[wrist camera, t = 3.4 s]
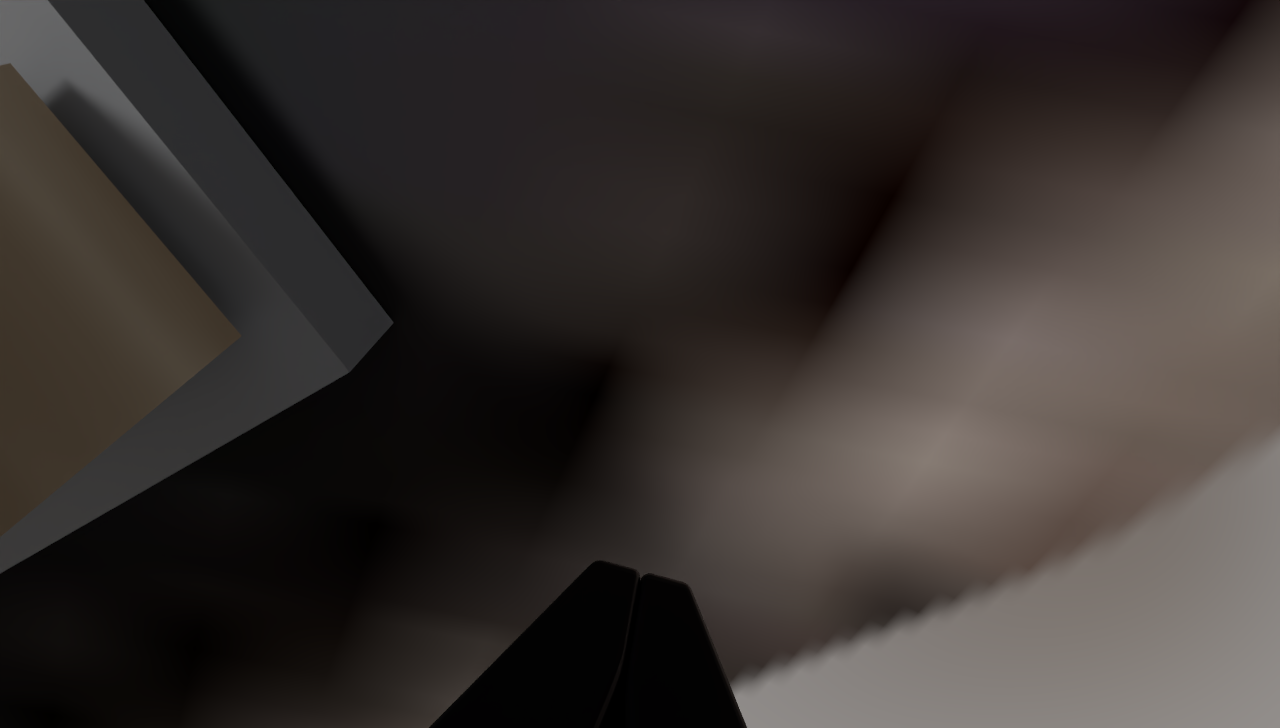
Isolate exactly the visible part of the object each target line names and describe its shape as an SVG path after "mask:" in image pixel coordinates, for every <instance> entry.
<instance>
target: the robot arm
mask: <svg viewBox="0 0 1280 728" xmlns="http://www.w3.org/2000/svg"><path fill="white" fill-rule="evenodd" d="M429 728H747V727H746V724H745V722H744V719H743V717H742V714H741V712H740V709H739V707H738V704H737V702H736V699H735V697H734V694H733V692H732V689H731V687H730V684H729V682H728V679H727V677H726V674H725V672H724V669H723V667H722V664H721V662H720V660H719V657H718V655H717V652H716V650H715V647H714V645H713V642H712V640H711V637H710V635H709V632H708V630H707V627H706V625H705V622H704V620H703V617H702V615H701V612H700V610H699V607H698V605H697V602H696V600H695V597H694V595H693V593H692V590H691V588H690V587H689V586H688V585H687V584H686V583H684V582H681V581H677V580H674V579H670V578H666V577H662V576H658V575H655V574H650V573H648V574H645V575H644V576H643V577H642V578H641V580H640V575H639V573H638V571H637V570H635V569H632V568H628V567H625V566H621V565H617V564H613V563H610V562H606V561H601V560H599V561H595V562H593V563H592V564H591V565H590V566H589V567H588V568H587V569H586V570H585V571H584V572H583V573H582V574H581V575H580V576H579V577H578V578H577V579H576V580H575V581H574V582H573V583H572V584H571V585H570V586H569V587H568V588H567V589H566V590H565V591H564V592H563V593H562V594H561V595H560V596H559V597H558V598H557V599H556V600H555V601H554V602H553V603H552V604H551V605H550V606H549V607H548V608H547V609H546V610H545V611H544V612H543V613H542V614H541V615H540V616H539V617H538V618H537V619H536V620H535V621H534V622H533V623H532V624H531V625H530V626H529V627H528V628H527V629H526V630H525V631H524V632H523V633H522V634H521V635H520V636H519V637H518V638H517V639H516V640H515V641H514V642H513V643H512V644H511V645H510V646H509V647H508V648H507V649H506V650H505V651H504V652H503V653H502V654H501V655H500V656H499V657H498V658H497V659H496V661H495V662H494V663H493V664H492V665H491V666H490V667H489V668H488V669H487V670H486V671H485V672H484V673H483V674H482V675H481V676H480V677H479V678H478V679H477V680H476V681H475V682H474V683H473V684H472V685H471V686H470V687H469V688H468V689H467V690H466V691H465V692H464V693H463V694H462V695H461V696H460V697H459V698H458V699H457V700H456V701H455V702H454V703H453V704H452V705H451V706H450V707H449V708H448V709H447V710H446V711H445V712H444V713H443V714H442V715H441V716H440V717H439V718H438V719H437V720H436V721H435V722H434V723H433V724H432V725H431V726H430V727H429Z"/></svg>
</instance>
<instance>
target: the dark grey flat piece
mask: <svg viewBox="0 0 1280 728" xmlns="http://www.w3.org/2000/svg"><path fill="white" fill-rule="evenodd" d="M9 63H11V64H12V66H13V67H14V68H15V69H16V70H17V72H18V73H19V74H20V75H21V76H22V77H23V79H24V80H25V81H26V82H27V83H28V85H29V86H30V87H31V88H32V89H33V90H34V92H35V93H36V94H37V95H38V96H39V98H40V99H41V100H42V101H43V102H44V103H45V105H46V106H47V107H48V108H49V109H50V110H51V112H52V113H53V114H54V115H55V116H56V118H57V119H58V120H59V121H60V122H61V123H62V125H63V126H64V127H65V128H66V129H67V131H68V132H69V133H70V134H71V135H72V136H73V138H74V139H75V140H76V141H77V142H78V144H79V145H80V146H81V147H82V148H83V149H84V151H85V152H86V153H87V154H88V155H89V156H90V158H91V159H92V160H93V161H94V162H95V164H96V165H97V166H98V167H99V168H100V169H101V171H102V172H103V173H104V174H105V175H106V177H107V178H108V179H109V180H110V181H111V182H112V184H113V185H114V186H115V187H116V188H117V189H118V191H119V192H120V193H121V194H122V195H123V197H124V198H125V199H126V200H127V201H128V202H129V204H130V205H131V206H132V207H133V208H134V210H135V211H136V212H137V213H138V214H139V215H140V217H141V218H142V219H143V220H144V221H145V223H146V224H147V225H148V226H149V227H150V228H151V230H152V231H153V232H154V233H155V234H156V235H157V237H158V238H159V239H160V240H161V241H162V243H163V244H164V245H165V246H166V247H167V248H168V250H169V251H170V252H171V253H172V254H173V256H174V257H175V258H176V259H177V260H178V261H179V263H180V264H181V265H182V266H183V267H184V269H185V270H186V271H187V272H188V273H189V274H190V276H191V277H192V278H193V279H194V280H195V281H196V283H197V284H198V285H199V286H200V287H201V289H202V290H203V291H204V292H205V293H206V294H207V296H208V297H209V298H210V299H211V300H212V302H213V303H214V304H215V305H216V306H217V307H218V309H219V310H220V311H221V312H222V313H223V315H224V316H225V317H226V318H227V319H228V320H229V322H230V323H231V324H232V325H233V326H234V327H235V329H236V330H237V331H238V332H239V333H240V335H241V337H240V338H239V339H238V340H236V341H235V342H234V343H233V344H232V345H230V346H229V347H228V348H227V349H226V350H224V351H223V352H222V353H221V354H219V355H218V356H217V357H216V358H215V359H213V360H212V361H211V362H210V363H209V364H207V365H206V366H205V367H204V368H203V369H201V370H200V371H199V372H198V373H197V374H195V375H194V376H193V377H192V378H191V379H189V380H188V381H187V382H186V383H185V384H183V385H182V386H181V387H180V388H179V389H177V390H176V391H175V392H174V393H173V394H171V395H170V396H169V397H168V398H167V399H165V400H164V401H163V402H162V403H161V404H159V405H158V406H157V407H156V408H155V409H153V410H152V411H151V412H150V413H149V414H147V415H146V416H145V417H144V418H143V419H141V420H140V421H139V422H138V423H137V424H135V425H134V426H133V427H132V428H131V429H129V430H128V431H127V432H126V433H125V434H123V435H122V436H121V437H120V438H119V439H117V440H116V441H115V442H114V443H113V444H111V445H110V446H109V447H108V448H107V449H105V450H104V451H103V452H102V453H101V454H99V455H98V456H97V457H96V458H95V459H93V460H92V461H91V462H90V463H89V464H87V465H86V466H85V467H84V468H83V469H81V470H80V471H79V472H78V473H77V474H75V475H74V476H73V477H72V478H70V479H69V480H68V481H67V482H66V483H64V484H63V485H62V486H61V487H60V488H58V489H57V490H56V491H55V492H54V493H52V494H51V495H50V496H49V497H48V498H46V499H45V500H44V501H43V502H42V503H40V504H39V505H38V506H37V507H36V508H34V509H33V510H32V511H31V512H30V513H28V514H27V515H26V516H25V517H24V518H22V519H21V520H20V521H19V522H18V523H16V524H15V525H14V526H13V527H12V528H10V529H9V530H8V531H7V532H6V533H4V534H3V535H2V536H1V537H0V573H2V572H4V571H5V570H7V569H9V568H10V567H12V566H14V565H16V564H17V563H19V562H21V561H23V560H24V559H26V558H28V557H30V556H31V555H33V554H35V553H37V552H38V551H40V550H42V549H43V548H45V547H47V546H49V545H50V544H52V543H54V542H56V541H57V540H59V539H61V538H63V537H64V536H66V535H68V534H70V533H71V532H73V531H75V530H76V529H78V528H80V527H82V526H83V525H85V524H87V523H89V522H90V521H92V520H94V519H96V518H97V517H99V516H101V515H103V514H104V513H106V512H108V511H109V510H111V509H113V508H115V507H116V506H118V505H120V504H122V503H123V502H125V501H127V500H129V499H130V498H132V497H134V496H136V495H137V494H139V493H141V492H142V491H144V490H146V489H148V488H149V487H151V486H153V485H155V484H156V483H158V482H160V481H162V480H163V479H165V478H167V477H169V476H170V475H172V474H174V473H175V472H177V471H179V470H181V469H182V468H184V467H186V466H188V465H189V464H191V463H193V462H195V461H196V460H198V459H200V458H202V457H203V456H205V455H207V454H208V453H210V452H212V451H214V450H215V449H217V448H219V447H221V446H222V445H224V444H226V443H228V442H229V441H231V440H233V439H235V438H236V437H238V436H240V435H241V434H243V433H245V432H247V431H248V430H250V429H252V428H254V427H255V426H257V425H259V424H261V423H262V422H264V421H266V420H267V419H269V418H271V417H273V416H274V415H276V414H278V413H280V412H281V411H283V410H285V409H287V408H288V407H290V406H292V405H294V404H295V403H297V402H299V401H300V400H302V399H304V398H306V397H307V396H309V395H311V394H313V393H314V392H316V391H318V390H320V389H321V388H323V387H325V386H327V385H328V384H330V383H332V382H333V381H335V380H337V379H339V378H340V377H342V376H344V375H346V374H347V373H349V372H350V371H351V370H352V369H353V368H354V367H355V366H356V365H357V363H358V362H359V361H360V360H361V359H362V358H363V357H364V356H365V354H366V353H367V352H368V351H369V350H370V349H371V348H372V347H373V345H374V344H375V343H376V342H377V341H378V340H379V339H380V338H381V337H382V335H383V334H384V333H385V332H386V331H387V330H388V329H389V328H390V326H391V325H392V324H393V321H392V320H391V319H390V317H389V316H388V315H387V313H386V312H385V311H384V310H383V308H382V307H381V306H380V304H379V303H378V302H377V301H376V299H375V298H374V297H373V295H372V294H371V293H370V292H369V290H368V289H367V288H366V286H365V285H364V284H363V283H362V281H361V280H360V279H359V277H358V276H357V275H356V273H355V272H354V271H353V270H352V268H351V267H350V266H349V264H348V263H347V262H346V261H345V259H344V258H343V257H342V255H341V254H340V253H339V252H338V250H337V249H336V248H335V246H334V245H333V244H332V243H331V241H330V240H329V239H328V237H327V236H326V235H325V233H324V232H323V231H322V230H321V228H320V227H319V226H318V224H317V223H316V222H315V221H314V219H313V218H312V217H311V215H310V214H309V213H308V212H307V210H306V209H305V208H304V206H303V205H302V204H301V203H300V201H299V200H298V199H297V197H296V196H295V195H294V193H293V192H292V191H291V190H290V188H289V187H288V186H287V184H286V183H285V182H284V181H283V179H282V178H281V177H280V175H279V174H278V173H277V172H276V170H275V169H274V168H273V166H272V165H271V164H270V163H269V161H268V160H267V159H266V157H265V156H264V155H263V153H262V152H261V151H260V150H259V148H258V147H257V146H256V144H255V143H254V142H253V141H252V139H251V138H250V137H249V135H248V134H247V133H246V132H245V130H244V129H243V128H242V126H241V125H240V124H239V123H238V121H237V120H236V119H235V117H234V116H233V115H232V113H231V112H230V111H229V110H228V108H227V107H226V106H225V104H224V103H223V102H222V101H221V99H220V98H219V97H218V95H217V94H216V93H215V92H214V90H213V89H212V88H211V86H210V85H209V84H208V83H207V81H206V80H205V79H204V77H203V76H202V75H201V73H200V72H199V71H198V70H197V68H196V67H195V66H194V64H193V63H192V62H191V61H190V59H189V58H188V57H187V55H186V54H185V53H184V52H183V50H182V49H181V48H180V46H179V45H178V44H177V43H176V41H175V40H174V39H173V37H172V36H171V35H170V33H169V32H168V31H167V30H166V28H165V27H164V26H163V24H162V23H161V22H160V21H159V19H158V18H157V17H156V15H155V14H154V13H153V12H152V10H151V9H150V8H149V6H148V5H147V4H146V3H145V1H144V0H0V65H4V64H9Z"/></svg>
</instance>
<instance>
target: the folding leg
mask: <svg viewBox="0 0 1280 728" xmlns="http://www.w3.org/2000/svg"><path fill="white" fill-rule="evenodd" d="M240 337H241V335H240V333H239V332H238V331H237V330H236V329H235V327H234V326H233V325H232V324H231V323H230V322H229V320H228V319H227V318H226V317H225V316H224V315H223V313H222V312H221V311H220V310H219V309H218V307H217V306H216V305H215V304H214V303H213V302H212V300H211V299H210V298H209V297H208V296H207V294H206V293H205V292H204V291H203V290H202V289H201V287H200V286H199V285H198V284H197V283H196V281H195V280H194V279H193V278H192V277H191V276H190V274H189V273H188V272H187V271H186V270H185V269H184V267H183V266H182V265H181V264H180V263H179V261H178V260H177V259H176V258H175V257H174V256H173V254H172V253H171V252H170V251H169V250H168V248H167V247H166V246H165V245H164V244H163V243H162V241H161V240H160V239H159V238H158V237H157V235H156V234H155V233H154V232H153V231H152V230H151V228H150V227H149V226H148V225H147V224H146V223H145V221H144V220H143V219H142V218H141V217H140V215H139V214H138V213H137V212H136V211H135V210H134V208H133V207H132V206H131V205H130V204H129V202H128V201H127V200H126V199H125V198H124V197H123V195H122V194H121V193H120V192H119V191H118V189H117V188H116V187H115V186H114V185H113V184H112V182H111V181H110V180H109V179H108V178H107V177H106V175H105V174H104V173H103V172H102V171H101V169H100V168H99V167H98V166H97V165H96V164H95V162H94V161H93V160H92V159H91V158H90V156H89V155H88V154H87V153H86V152H85V151H84V149H83V148H82V147H81V146H80V145H79V144H78V142H77V141H76V140H75V139H74V138H73V136H72V135H71V134H70V133H69V132H68V131H67V129H66V128H65V127H64V126H63V125H62V123H61V122H60V121H59V120H58V119H57V118H56V116H55V115H54V114H53V113H52V112H51V110H50V109H49V108H48V107H47V106H46V105H45V103H44V102H43V101H42V100H41V99H40V98H39V96H38V95H37V94H36V93H35V92H34V90H33V89H32V88H31V87H30V86H29V85H28V83H27V82H26V81H25V80H24V79H23V77H22V76H21V75H20V74H19V73H18V72H17V70H16V69H15V68H14V67H13V66H12V64H11V63H9V64H4V65H0V537H1V536H2V535H3V534H4V533H6V532H7V531H8V530H9V529H10V528H12V527H13V526H14V525H15V524H16V523H18V522H19V521H20V520H21V519H22V518H24V517H25V516H26V515H27V514H28V513H30V512H31V511H32V510H33V509H34V508H36V507H37V506H38V505H39V504H40V503H42V502H43V501H44V500H45V499H46V498H48V497H49V496H50V495H51V494H52V493H54V492H55V491H56V490H57V489H58V488H60V487H61V486H62V485H63V484H64V483H66V482H67V481H68V480H69V479H70V478H72V477H73V476H74V475H75V474H77V473H78V472H79V471H80V470H81V469H83V468H84V467H85V466H86V465H87V464H89V463H90V462H91V461H92V460H93V459H95V458H96V457H97V456H98V455H99V454H101V453H102V452H103V451H104V450H105V449H107V448H108V447H109V446H110V445H111V444H113V443H114V442H115V441H116V440H117V439H119V438H120V437H121V436H122V435H123V434H125V433H126V432H127V431H128V430H129V429H131V428H132V427H133V426H134V425H135V424H137V423H138V422H139V421H140V420H141V419H143V418H144V417H145V416H146V415H147V414H149V413H150V412H151V411H152V410H153V409H155V408H156V407H157V406H158V405H159V404H161V403H162V402H163V401H164V400H165V399H167V398H168V397H169V396H170V395H171V394H173V393H174V392H175V391H176V390H177V389H179V388H180V387H181V386H182V385H183V384H185V383H186V382H187V381H188V380H189V379H191V378H192V377H193V376H194V375H195V374H197V373H198V372H199V371H200V370H201V369H203V368H204V367H205V366H206V365H207V364H209V363H210V362H211V361H212V360H213V359H215V358H216V357H217V356H218V355H219V354H221V353H222V352H223V351H224V350H226V349H227V348H228V347H229V346H230V345H232V344H233V343H234V342H235V341H236V340H238V339H239V338H240Z"/></svg>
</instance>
